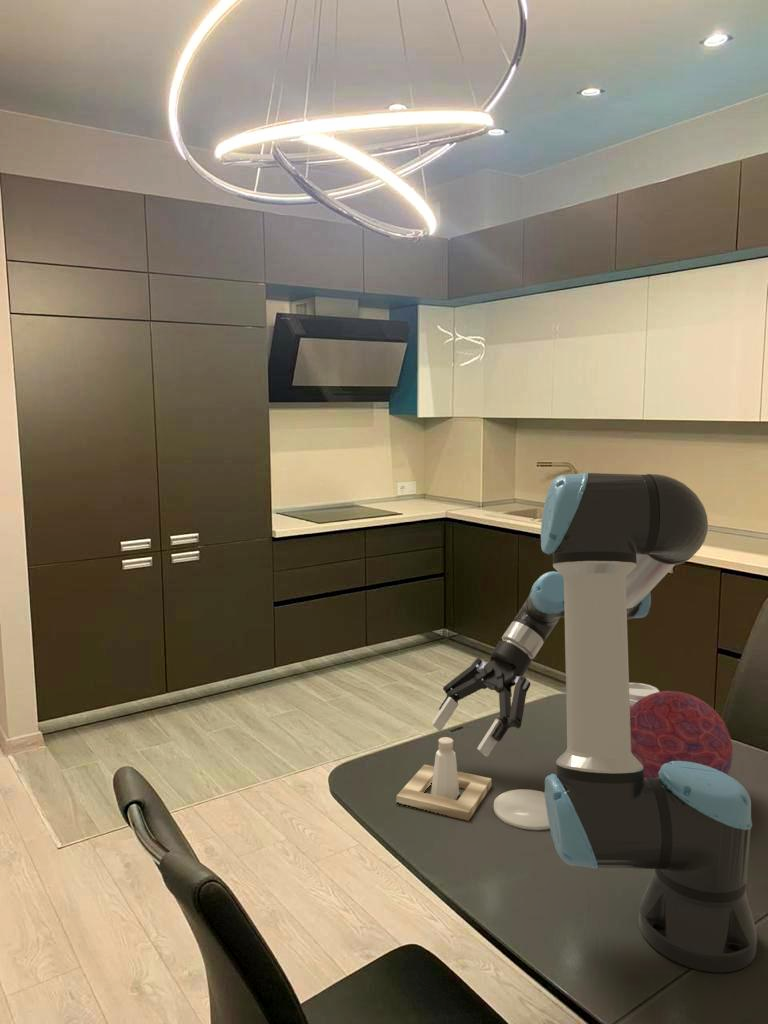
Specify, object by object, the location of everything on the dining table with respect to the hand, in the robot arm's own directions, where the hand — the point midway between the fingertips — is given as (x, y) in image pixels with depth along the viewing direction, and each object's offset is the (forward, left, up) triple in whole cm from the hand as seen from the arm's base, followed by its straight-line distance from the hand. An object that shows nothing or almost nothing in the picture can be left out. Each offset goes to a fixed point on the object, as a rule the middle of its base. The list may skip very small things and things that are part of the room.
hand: (457, 740), depth 146 cm
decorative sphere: (+14, -38, -10) cm, 42 cm away
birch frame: (-4, +1, -10) cm, 10 cm away
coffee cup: (+28, -30, -10) cm, 42 cm away
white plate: (-3, -15, -10) cm, 18 cm away
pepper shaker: (-4, +1, -10) cm, 11 cm away
